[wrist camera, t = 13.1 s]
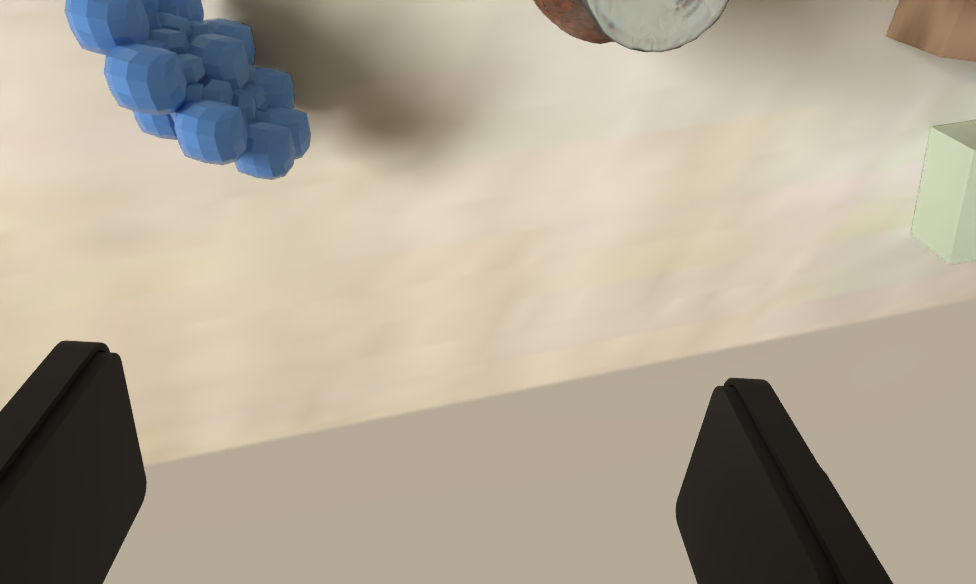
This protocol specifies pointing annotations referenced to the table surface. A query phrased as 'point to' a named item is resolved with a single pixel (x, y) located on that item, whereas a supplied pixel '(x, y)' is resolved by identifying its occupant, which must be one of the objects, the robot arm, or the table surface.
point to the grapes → (195, 82)
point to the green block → (948, 194)
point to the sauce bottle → (634, 21)
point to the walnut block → (937, 27)
